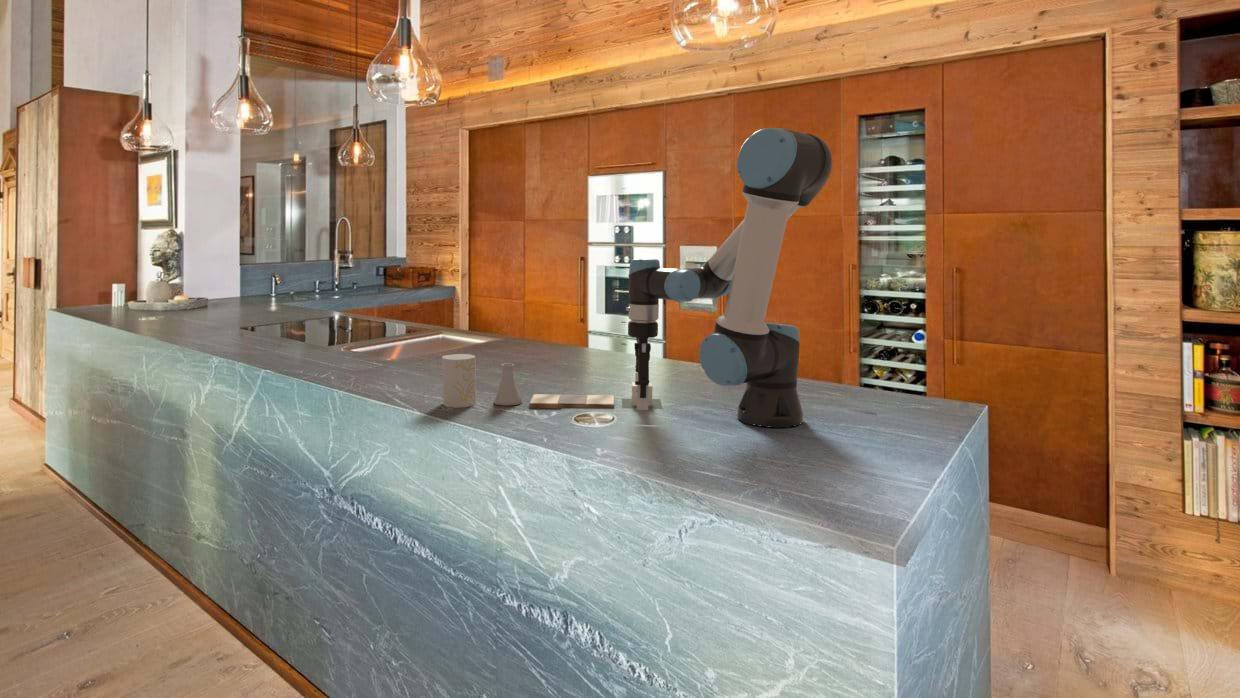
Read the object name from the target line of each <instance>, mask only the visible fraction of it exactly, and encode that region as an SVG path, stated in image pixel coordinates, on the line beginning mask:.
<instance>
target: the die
mask: <svg viewBox="0 0 1240 698" xmlns="http://www.w3.org/2000/svg"><path fill="white" fill-rule="evenodd" d="M652 383H653V382H651V381H649V389H648V406H652V399H653V384H652ZM630 399H632V406H637V385H635V381H631V397H630Z"/></svg>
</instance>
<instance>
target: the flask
mask: <svg viewBox="0 0 1240 698" xmlns="http://www.w3.org/2000/svg"><path fill="white" fill-rule="evenodd" d="M500 367H501V368H502V374H501V379H500V382H499V385H498V389H497V393H495V394H496V395H495V398H494V400H493V403H494V405H497V406H505V407H506V406H517V405H519V404H522V403H523V401H522V397H521V395H520V393H519V389H518V386H517V385H516V381H515V378H514V367H515V364H514V363H509V362H508V363H501V366H500Z"/></svg>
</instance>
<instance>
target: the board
mask: <svg viewBox="0 0 1240 698" xmlns="http://www.w3.org/2000/svg"><path fill="white" fill-rule="evenodd" d="M528 408H529V409H563V408H573V409H574V408H575V409H577V408H586V409H587V408H589V409H590V408H592V409H598V408H601V409H614V408H615V396H614V395H613V394H612V395H611V394H608V395H607V394H549V393H548V394H542V393H541V394H540V393H536V394H535V393H534V394H533V396H532V398H531V399H530V401H529V405H528Z"/></svg>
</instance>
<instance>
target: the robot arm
mask: <svg viewBox="0 0 1240 698" xmlns="http://www.w3.org/2000/svg"><path fill="white" fill-rule="evenodd" d="M832 155H833V154H832V152H831V149H830V147H829V146H828V144H827V143H826V141H824V140H823V139H822V138H821V137H819V136H817V135H815V134H813V133H812V134H811V133H807V132H806V133H804V132H798V131H795V130H792V129H791V130H790V129H787V128H783V127H779V128H778V127H766V128H761V129H759V130H757V131H755V132H753V133H752V135H750V136H748V137H747V139H745V141H744V142H743V143H742V145H741V147H740V150H739V152H738V155H737V160H736V169H737V170H736V171H737V173H738V174H739V178H740V180H741V181H742V183H743V187H742V192H741V193H742V195H743V197H744V199H745V200H746V203H747V205H746V210H745V214H744V217H743V218H744V219H743V220H742V221H741V222H740V223H739V224H738V226H737V227H735V229H734V230H733V231H732V232H731V233H730V235H729V236H728V237H727V238H726V240H724V242H723V243H722V244H721V245H720V246H719V248H717V250H716V251H715V252H714V253H713V255H711V257H710V258H709V259H708V260H707V261H706V262H705V263H704V264H703V266H702V267H690V268H688V267H687V268H666V267H665V268H664V267H661V265H660V260H659V259H657V258H633V259H631V260H630V262H629V270H628V274H627V275H628V306H626V307H625V311H627V312H628V319H629V321H628V322H627V335H628V337H631V338H635V339H636V342H634V353H635V354H634V355H635V365H634V367H635V380H634V382H635V385H637V408H636V411H649V408H648V389H649V382H650V378H649V377H650V371H649V370H650V359H651V349H652V347H651V346H652V345H651V342H648V341H649V339H651V338H656V337H658V335H659V322H658V320H659V316H660V315H659V311H660V310H659V307H660V306H659V305H660V304H659V300H666V301H674V302H677V303H681V302H682V303H683V302H687V303H689V302H692V301H693V300H696V299H717V298H720V297H725V296H726V295H728V296H727V297H728V298H727V301H726V307H725V310H724V313H723V314H721V315H720V316H718V317H717V318H716V320H715V325H714V330H713V333H710V334H708V335H707V336H706V337H705V338H703V340H702V341H701V343H700V346H699V350H698V353H699V354H698V355H699V358H698V359H699V362H700V366H701V368H702V369H703V372H704V374H705V375H706V376H707V378H708V379H709V380H710V381H711V382H713V383H714V384H716V385H719V386H722V387H730V386H732V387H733V386H735V387H736V386H740V385H741V384H745V385H746V386H745V389H744V392H743V393H742V396H741V399H740V401H739V404H738V406H737V414H736V417H738V418H739V419H740V420H742V421H744V422H746V423H745V424H747V423H750V424H755V425H761V426H770V427H769V428H771V427H786V428H789V427H788V426H794V425H798V424H800V423H802V424H803V422H802V421H803V420H804V411H803V407H802V404H801V400H800V396H799V394H798V376H799V373H798V372H799V357H800V345H801V340H800V339H801V338H800V337H801V336H800V334H801V333H800V329H799V328H798V326H795V325H791V324H784V323H774V322H767V321H766V322H765V319H766V315H767V310H768V307H769V301H770V298H771V293H772V289H773V284H774V279H775V275H776V272H777V267H778V263H779V258H780V253H781V250H782V245H783V241H784V237H785V232H786V226H787V223H788V220H789V218H791V216H792V215H793V214H795V212H796V211H797V210H798V209H799V208H806V207H808V205H809V204H810V203H811V202H812V201H813V200H814V199H815V198H816V197H817V196H818V195H819V194H820V193H821V191H822V189H823V188H824V187H825V185H826V184H827V182H828V180H829V178H830V176H831V173H832V170H833V169H832V168H833V156H832ZM738 418H737V419H738ZM739 419H738V420H739ZM740 420H739V421H740ZM742 421H741V422H742ZM744 422H743V423H744ZM750 424H749V425H750ZM755 425H754V426H755ZM800 425H801V424H800ZM761 426H760V427H761ZM798 426H799V425H798ZM794 427H795V426H794Z"/></svg>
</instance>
